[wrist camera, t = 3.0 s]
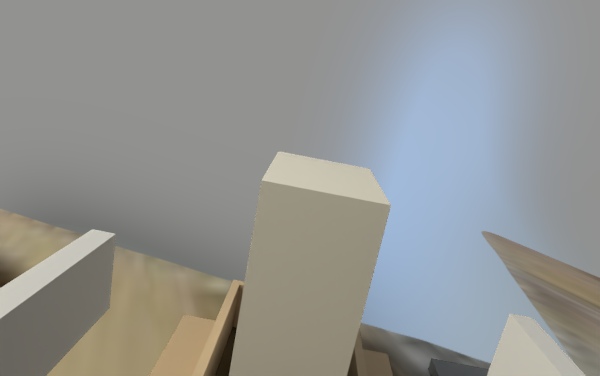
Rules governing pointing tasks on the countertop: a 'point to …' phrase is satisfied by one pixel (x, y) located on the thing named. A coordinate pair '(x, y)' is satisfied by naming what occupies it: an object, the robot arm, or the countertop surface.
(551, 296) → the countertop surface
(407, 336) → the countertop surface
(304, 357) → the box
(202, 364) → the carton
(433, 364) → the board
